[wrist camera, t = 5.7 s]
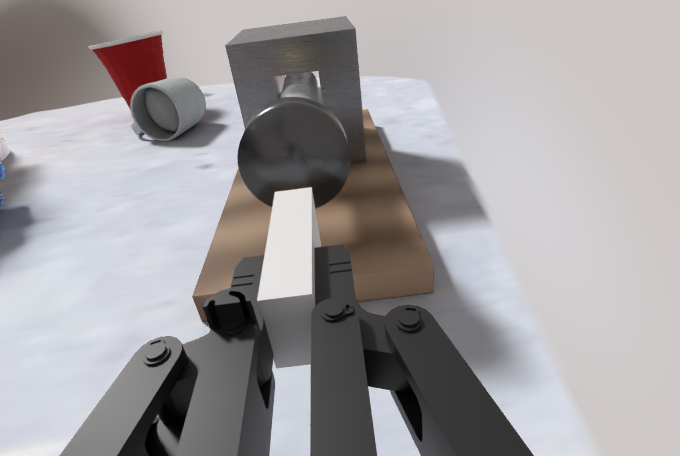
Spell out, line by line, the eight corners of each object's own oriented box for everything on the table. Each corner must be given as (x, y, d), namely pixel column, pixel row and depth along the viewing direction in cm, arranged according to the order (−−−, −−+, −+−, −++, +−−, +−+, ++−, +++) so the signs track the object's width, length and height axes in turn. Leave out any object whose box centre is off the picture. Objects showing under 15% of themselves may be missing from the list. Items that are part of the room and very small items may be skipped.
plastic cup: (151, 103, 76) (126, 31, 70) (198, 104, 72) (176, 27, 66) (102, 123, 68) (69, 44, 61) (152, 125, 64) (122, 39, 57)
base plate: (433, 292, 25) (433, 265, 24) (202, 321, 25) (192, 296, 24) (368, 125, 52) (367, 109, 51) (257, 139, 53) (254, 124, 51)
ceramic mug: (215, 121, 62) (199, 68, 58) (188, 140, 55) (169, 83, 52) (155, 125, 64) (136, 75, 61) (123, 144, 58) (100, 90, 54)
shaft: (355, 204, 24) (344, 99, 21) (251, 218, 24) (224, 115, 21) (337, 113, 39) (329, 45, 36) (274, 122, 39) (260, 54, 36)
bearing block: (366, 162, 38) (355, 28, 32) (256, 176, 38) (225, 45, 32) (356, 126, 46) (345, 16, 41) (266, 138, 46) (242, 29, 41)
